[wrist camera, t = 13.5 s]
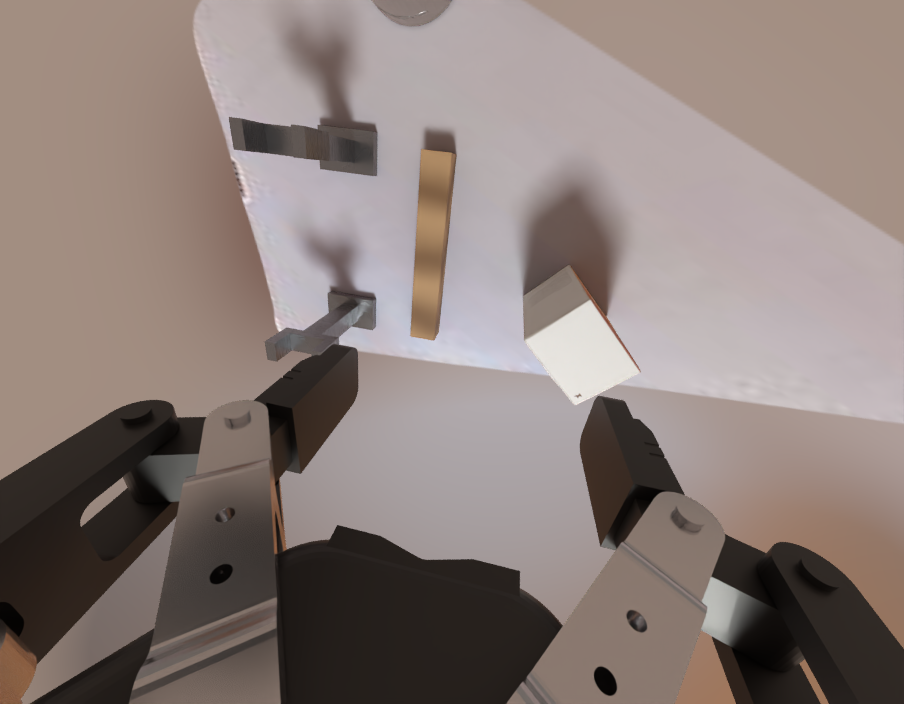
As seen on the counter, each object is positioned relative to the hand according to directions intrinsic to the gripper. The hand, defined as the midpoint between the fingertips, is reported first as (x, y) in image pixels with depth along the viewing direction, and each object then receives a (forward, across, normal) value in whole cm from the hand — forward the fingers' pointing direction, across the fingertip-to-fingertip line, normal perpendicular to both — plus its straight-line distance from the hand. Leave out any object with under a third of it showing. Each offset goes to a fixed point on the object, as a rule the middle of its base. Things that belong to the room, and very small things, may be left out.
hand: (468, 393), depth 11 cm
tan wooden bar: (+30, +8, +2) cm, 31 cm away
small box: (+30, -8, +6) cm, 32 cm away
